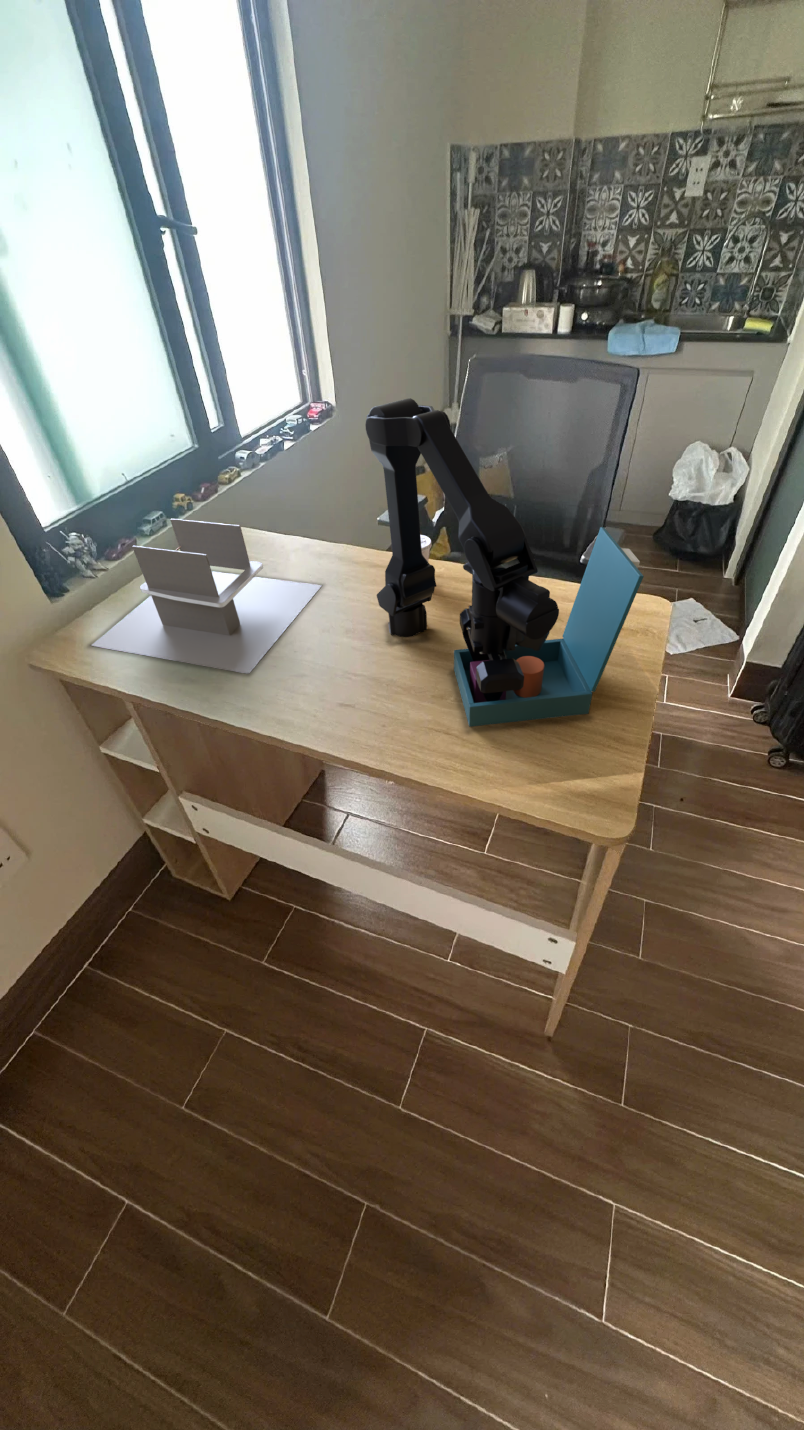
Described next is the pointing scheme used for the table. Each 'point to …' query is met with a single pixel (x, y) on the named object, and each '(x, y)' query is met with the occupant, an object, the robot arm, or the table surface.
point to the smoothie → (425, 546)
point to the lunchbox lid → (601, 606)
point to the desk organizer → (207, 602)
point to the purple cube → (474, 686)
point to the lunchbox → (556, 699)
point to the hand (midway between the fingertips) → (487, 689)
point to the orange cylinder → (530, 676)
